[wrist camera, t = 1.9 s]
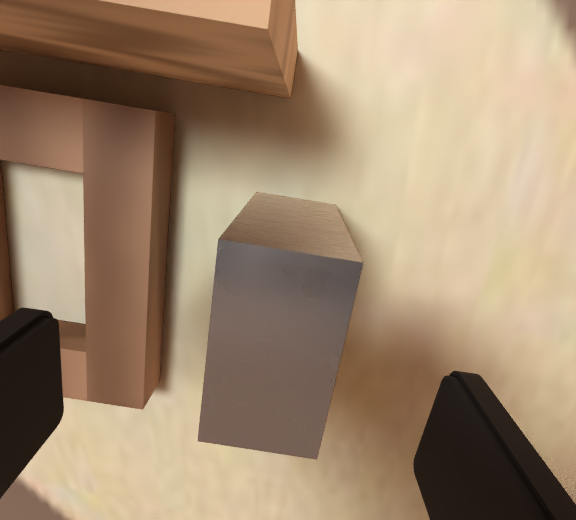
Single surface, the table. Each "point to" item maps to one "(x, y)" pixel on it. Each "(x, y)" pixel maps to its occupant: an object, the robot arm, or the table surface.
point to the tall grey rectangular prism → (277, 325)
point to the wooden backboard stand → (127, 156)
